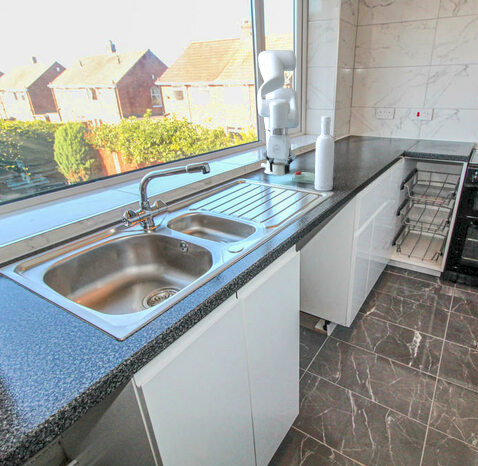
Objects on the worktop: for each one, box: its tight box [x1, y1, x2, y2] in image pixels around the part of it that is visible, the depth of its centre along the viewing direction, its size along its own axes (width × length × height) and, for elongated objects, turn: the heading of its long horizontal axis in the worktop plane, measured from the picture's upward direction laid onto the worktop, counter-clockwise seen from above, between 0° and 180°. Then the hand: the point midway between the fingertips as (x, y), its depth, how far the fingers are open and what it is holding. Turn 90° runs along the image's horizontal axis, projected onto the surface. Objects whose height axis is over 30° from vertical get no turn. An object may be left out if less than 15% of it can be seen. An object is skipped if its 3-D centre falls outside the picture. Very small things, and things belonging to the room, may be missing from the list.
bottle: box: [314, 115, 336, 192], centre depth 138 cm, size 8×8×30 cm
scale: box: [291, 171, 315, 185], centre depth 158 cm, size 17×14×3 cm
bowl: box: [272, 162, 286, 177], centre depth 149 cm, size 6×7×5 cm
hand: (279, 171), depth 150 cm, fingers closed on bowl, 6 cm apart
